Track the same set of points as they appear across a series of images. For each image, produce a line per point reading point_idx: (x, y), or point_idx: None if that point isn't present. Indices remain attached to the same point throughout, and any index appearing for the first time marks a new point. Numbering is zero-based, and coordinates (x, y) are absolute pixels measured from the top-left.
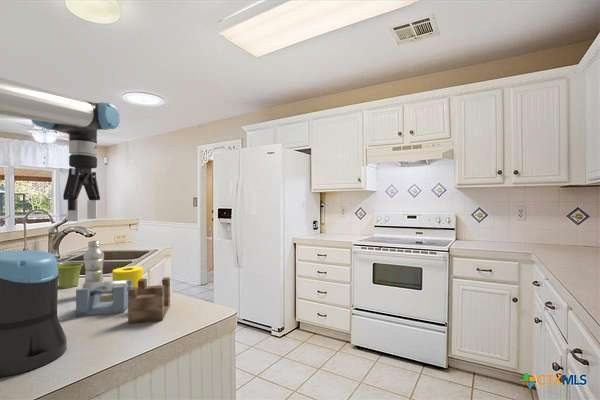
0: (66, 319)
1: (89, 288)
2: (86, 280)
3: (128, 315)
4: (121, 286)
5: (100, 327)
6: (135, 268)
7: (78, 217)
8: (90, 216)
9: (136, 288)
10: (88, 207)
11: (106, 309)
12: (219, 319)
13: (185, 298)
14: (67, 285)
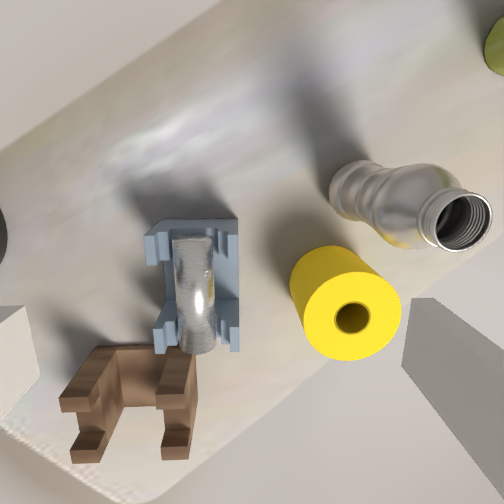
0: (144, 205)
1: (173, 259)
2: (351, 178)
3: (88, 357)
4: (161, 346)
5: (82, 300)
6: (356, 338)
7: (11, 399)
8: (420, 337)
9: (73, 411)
10: (499, 387)
11: (174, 283)
12: (97, 488)
13: (246, 420)
14: (489, 50)
